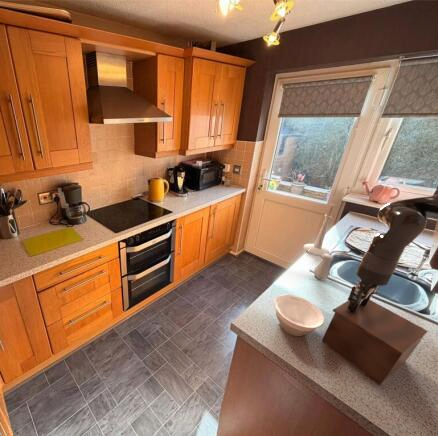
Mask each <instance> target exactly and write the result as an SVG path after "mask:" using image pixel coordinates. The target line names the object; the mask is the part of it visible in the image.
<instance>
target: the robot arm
mask: <svg viewBox="0 0 438 436" xmlns="http://www.w3.org/2000/svg"><path fill="white" fill-rule="evenodd" d="M377 218H378V220H379V221H380V222H381V223H382V224H383V225H385V226H386V227H388V230H387V231H386V232H385V233H384V232H381V233H376V234H375V235H374V236H373V238H372V240H371V241H370V243H369V246H368V248H367V250H366V251H365V253H364V254H363V256H362V258H361V260H360V262H359V264H358V267H357V269H356V271H355V274H356V276H357V277H358V278H359V279H360V280H358V281H357V283H356V285H354V286H352V287H351V290H350V293H349V294H348V297H347V301H348V300H349V301H350V303H349V305H348V307H347V308H348V309H349V310H351V311H352V312H356V311H357V309H358V307H359V305H360V304H362V305H364V306H366V305H367V303H368V301H369V299H370V300H371V298H372V297H373V296H374V295H376V294H377V292H378V290H379V289H380V286H381V287H382V286H383V287H384V286H387V285H388V284H389V282H390V280H391V278H392V276H393V274H394V272H395V271H396V269H397V267H398V264H399V261H400V259H401V257H402V255H403V253H404V251H405V249H406V248H407V247H408V246H409V245H410V244H411V243H413V242H414V240H416V238H418V237H419V236H420V235H421V234H422V233H423V232H424V230H425V229H426V227H427V222H428V220H427V219H432V220H435V221H438V193H437V194H434V195H430V196H422V197H420V196H419V197H413V198H407V199H401V200H396V201H392V202H390V203H387V204H385V205H383V207H381V208H380V209H379V210H378V212H377ZM362 294H364V295H365V296H363V295H362ZM355 298H356V299H355ZM363 299H364V300H363ZM362 300H363V301H362ZM361 302H362V303H361Z"/></svg>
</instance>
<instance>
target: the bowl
mask: <svg viewBox="0 0 438 436" xmlns="http://www.w3.org/2000/svg"><path fill="white" fill-rule="evenodd" d="M273 305H274V309H275V316H276V318H277V320H278V322H279V325H280V327H281V329H282V330H283V331H285V332H286V333H287V334H290V335H291V336H293V337H294V336H295V337H302V336H304V335H308V334H311V333H313V332H314V331H315V330H317V329H318V328H319V329H320V328H321V327H322V326H323V325H325V317H324V314H323V312H322V311H321V309H319V308H318V306H317V305H315V304H313V303H312V302H311V301H309V300H307V299H305V298H303V297H300V296H298V295H293V294H281V295H278V296H276V297H275V299H274V300H273Z"/></svg>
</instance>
